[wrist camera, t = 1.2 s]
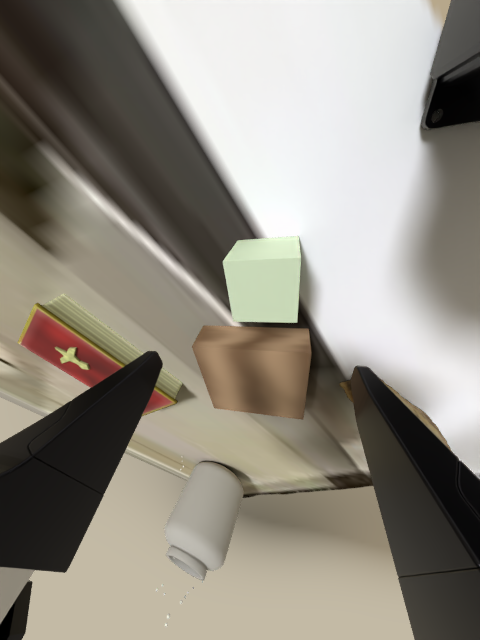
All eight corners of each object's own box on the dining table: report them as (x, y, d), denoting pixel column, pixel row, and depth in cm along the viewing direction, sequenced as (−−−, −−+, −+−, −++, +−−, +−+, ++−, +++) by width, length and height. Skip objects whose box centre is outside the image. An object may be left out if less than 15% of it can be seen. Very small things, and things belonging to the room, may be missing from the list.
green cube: (298, 235, 16) (301, 257, 12) (295, 290, 19) (297, 322, 15) (238, 240, 17) (222, 261, 13) (244, 291, 20) (233, 321, 16)
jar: (173, 455, 57) (112, 606, 37) (203, 447, 48) (145, 636, 29) (222, 480, 62) (192, 623, 43) (257, 478, 54) (238, 652, 35)
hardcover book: (150, 398, 39) (137, 419, 36) (43, 326, 32) (14, 345, 28) (187, 381, 33) (175, 405, 30) (65, 288, 25) (31, 306, 22)
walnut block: (308, 326, 22) (311, 353, 18) (301, 391, 29) (303, 419, 25) (204, 323, 24) (191, 346, 21) (221, 384, 31) (214, 408, 28)
